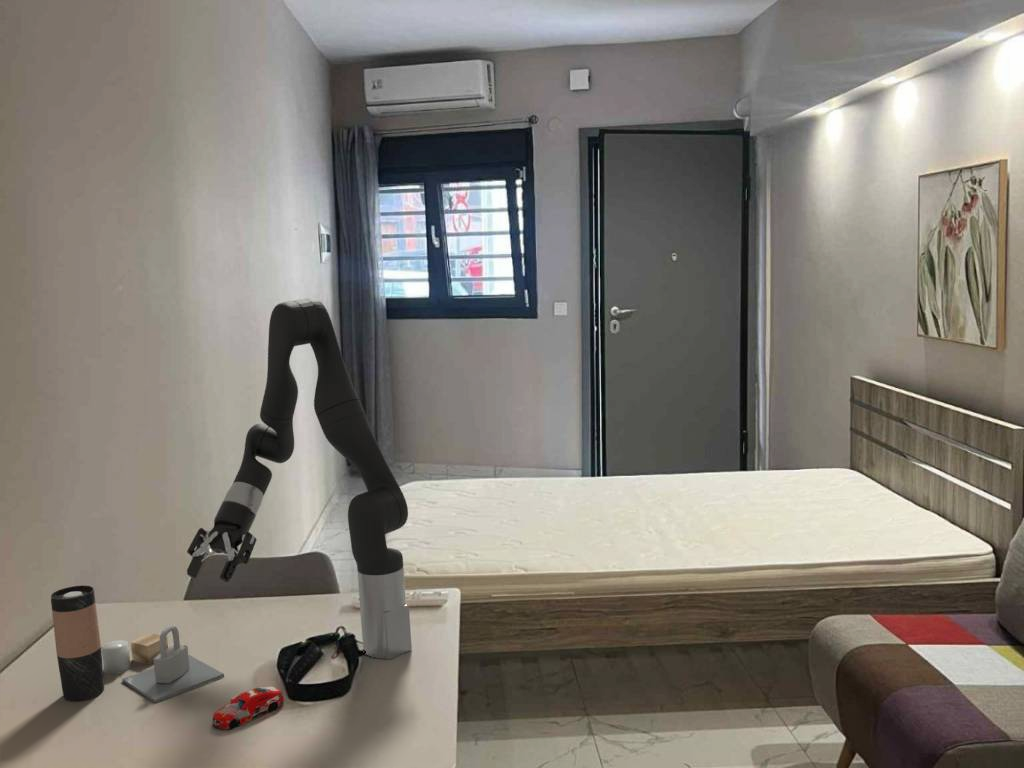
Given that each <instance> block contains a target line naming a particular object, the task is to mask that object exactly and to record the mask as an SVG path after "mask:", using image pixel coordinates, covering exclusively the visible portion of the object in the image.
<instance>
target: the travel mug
mask: <svg viewBox="0 0 1024 768" xmlns="http://www.w3.org/2000/svg"><path fill="white" fill-rule="evenodd" d="M96 603H97V602H96V597H95V589H94V587H92V586H90V585H75V586H74V585H73V586H68V587H64V588H61V589H58V590H55V591H54V592H53V593H51V596H50V605H51V614H52V624H53V632H54V641H55V649H56V657H57V664H58V672H59V677H60V682H61V690H62V695H63V699H64V700H65V701H67V702H72V701H77V702H83V700H84V701H88V700H91V699H94V698H96V697H98V696H100V695H101V694H102V693H103V692H104V690H105V683H104V668H103V659H102V650H101V647H102V644H101V637H100V636H101V635H100V629H99V628H100V627H99V626H100V625H99V621H98V613H97V604H96Z"/></svg>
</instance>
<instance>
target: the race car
mask: <svg viewBox="0 0 1024 768" xmlns="http://www.w3.org/2000/svg"><path fill="white" fill-rule="evenodd" d="M284 698H285V697H284V694H283V693H282V690H281V689H279V688H278V687H275V686H265V687H264V686H261V687H256V688H252V689H251V688H250V689H249V690H246V691H245V692H242V693H239V695H237V696H235V697H234V698H231V699H230V702H229V703H228V704H226V705H224V706H222V707H220V708H219V709H217V710H216V711H215V712H214V713H213V715H212V725H213V726H214V728H217V729H220V730H229V729H230V730H234V729H237V728H238V727H239V726H241V725H243V724H245V723H248V722H250V721H253V720H255V719H257V718H260V717H262V716H264V715H267V714H268V713H272V712H275V711H277V710H278V708H281V707H282V706H283V705H284V704H285V699H284Z"/></svg>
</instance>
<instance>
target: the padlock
mask: <svg viewBox="0 0 1024 768" xmlns="http://www.w3.org/2000/svg"><path fill="white" fill-rule="evenodd" d="M169 633H172V640H173V644H172V645H171V646H170V647H169V646H168V648H167V649H166V637H168V634H169ZM159 635H160V640H159V642H160V654H158V655H157V656H156V657H155V658H154V662H153V668H154V671H155V679H156V683H168V684H169V683H170V682H172V681H174V680H175V679H178V678H179V677H181V676H182V675H183V674H184V673H185V672H186V671H187V670H188V669H189V668H190V665H189V655H190V654H189V649H188V648H189V647H188V645H187V644H181V641H180V632H179V630H178V628H177V626H176V625H174V624H173V625H167V626H166V627H165V628H164V629H163V630H162V631H161V633H160V634H159Z"/></svg>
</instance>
